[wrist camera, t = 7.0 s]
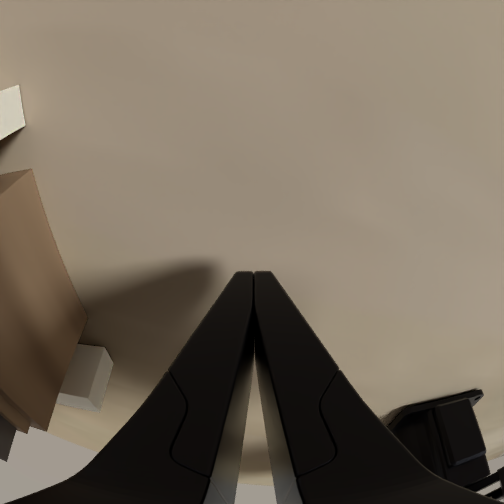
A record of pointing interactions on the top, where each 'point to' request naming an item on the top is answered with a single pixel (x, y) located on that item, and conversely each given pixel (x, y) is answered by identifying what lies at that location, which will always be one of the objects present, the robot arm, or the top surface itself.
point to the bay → (85, 356)
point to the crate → (32, 311)
